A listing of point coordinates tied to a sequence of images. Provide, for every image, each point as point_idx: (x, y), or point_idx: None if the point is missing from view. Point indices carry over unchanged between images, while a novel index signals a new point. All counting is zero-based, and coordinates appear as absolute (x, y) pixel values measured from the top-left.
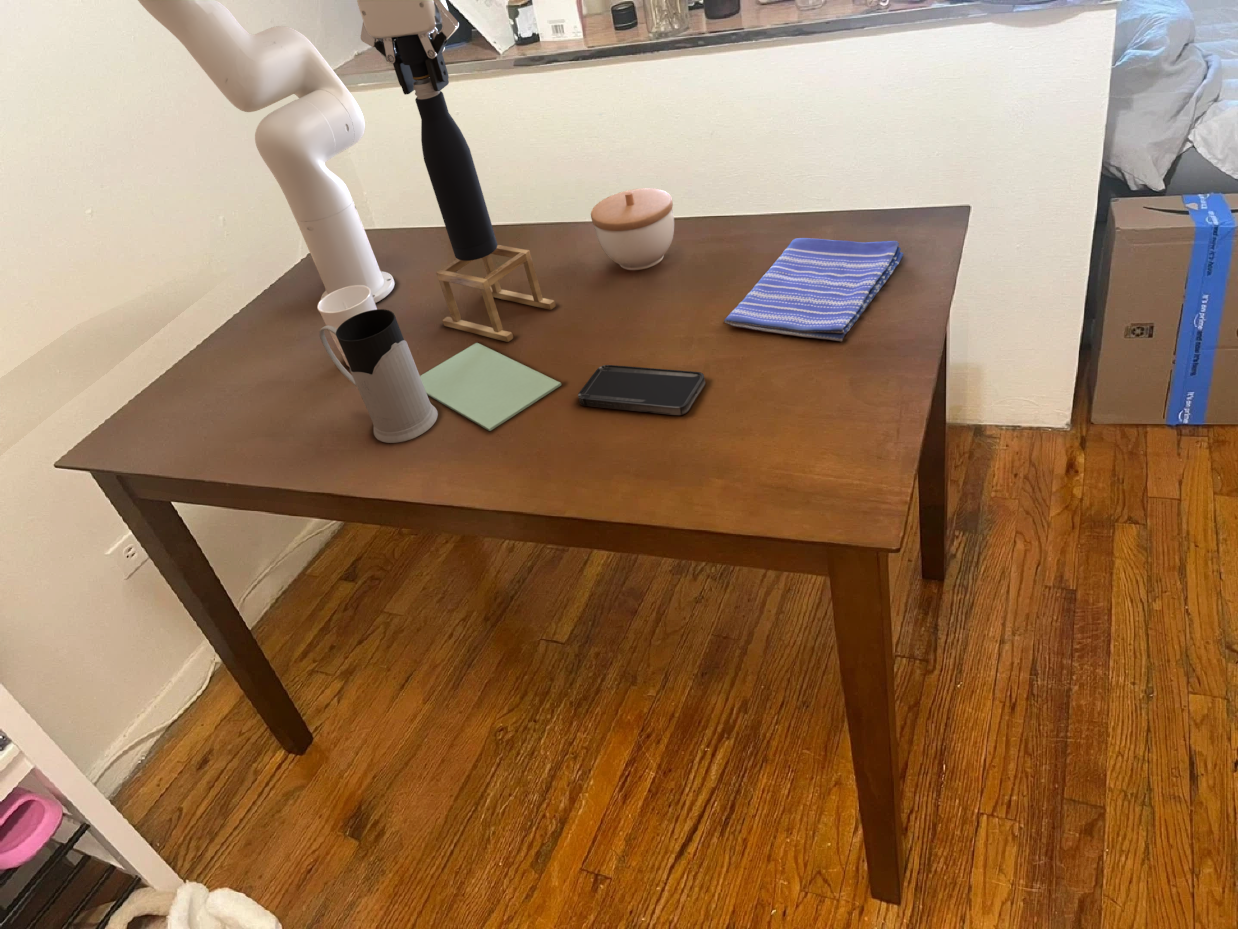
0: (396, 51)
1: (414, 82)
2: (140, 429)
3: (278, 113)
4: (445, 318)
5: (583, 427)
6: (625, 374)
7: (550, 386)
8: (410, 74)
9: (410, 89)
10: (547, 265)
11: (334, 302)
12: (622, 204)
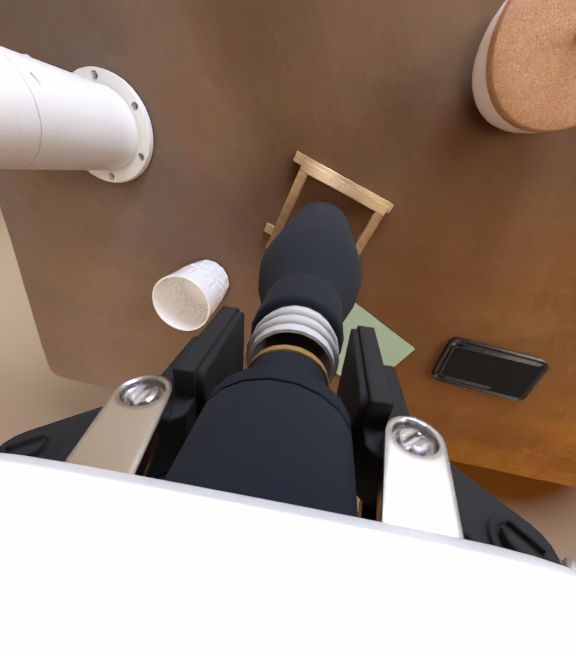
0: (157, 457)
1: (248, 362)
2: (74, 352)
3: None
4: (266, 228)
5: (436, 396)
6: (477, 355)
7: (406, 352)
8: (228, 369)
9: (240, 367)
10: (363, 69)
11: (161, 286)
12: (564, 34)
